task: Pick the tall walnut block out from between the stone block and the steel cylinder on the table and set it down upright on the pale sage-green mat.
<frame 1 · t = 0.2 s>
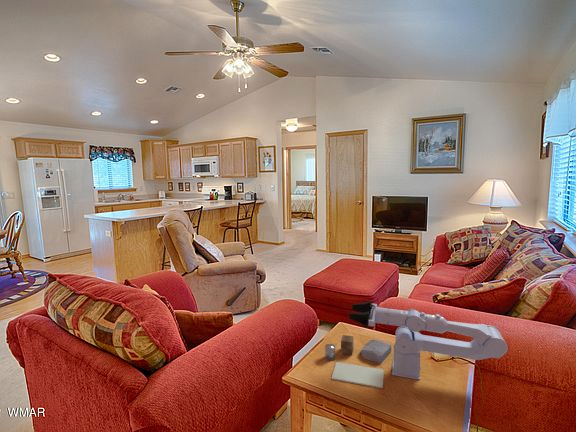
hand: (350, 311, 123), 21 cm above the table, tool horizontal, fingers open, 7 cm apart
walnut block: (347, 351, 134), on the table
sage mat: (357, 375, 119), on the table
steel cylinder: (330, 357, 130), on the table
stone block: (375, 354, 132), on the table
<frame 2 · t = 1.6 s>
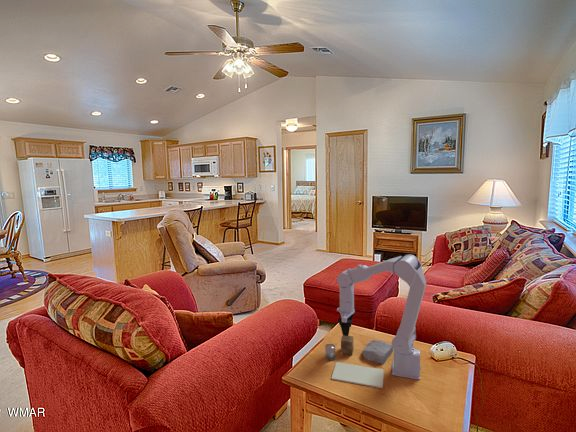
hand: (347, 330, 132), 9 cm above the table, tool pointing down, fingers open, 7 cm apart
nothing on the table moved.
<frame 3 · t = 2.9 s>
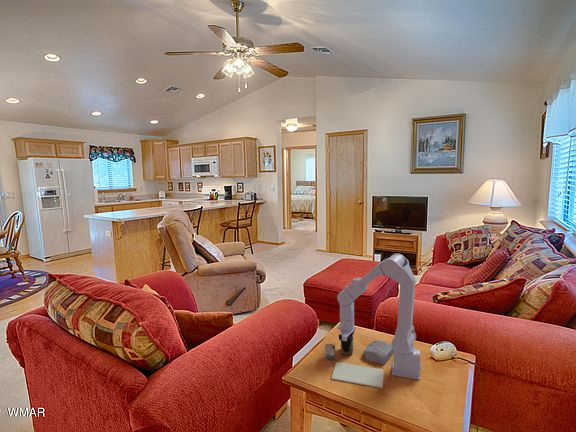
hand: (347, 348, 133), 2 cm above the table, tool pointing down, fingers closed on walnut block, 4 cm apart
walnut block: (347, 351, 134), on the table, touching gripper
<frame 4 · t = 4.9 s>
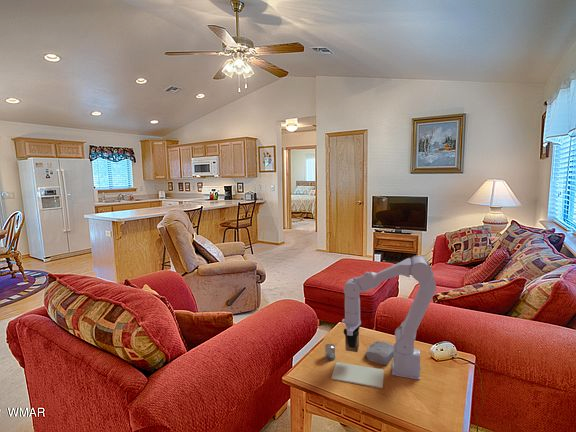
hand: (352, 343, 124), 9 cm above the table, tool pointing down, fingers closed on walnut block, 4 cm apart
walnut block: (352, 348, 124), point 7 cm above the table, touching gripper
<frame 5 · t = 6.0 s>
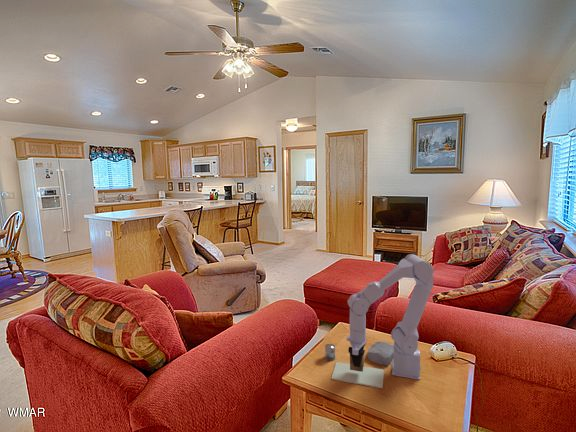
hand: (357, 362, 118), 5 cm above the table, tool pointing down, fingers closed on walnut block, 4 cm apart
walnut block: (357, 367, 118), point 3 cm above the table, touching gripper
when the fingers open (3 cm above the table, at t = 6.8 s): walnut block stays where it is, resting on sage mat.
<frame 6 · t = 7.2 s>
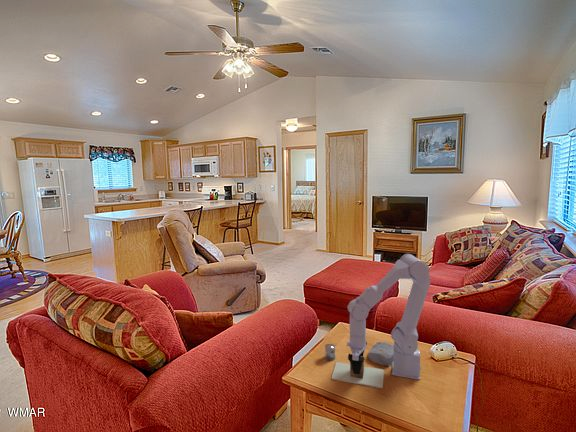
hand: (357, 367, 118), 3 cm above the table, tool pointing down, fingers open, 7 cm apart
walnut block: (357, 373, 119), resting on sage mat
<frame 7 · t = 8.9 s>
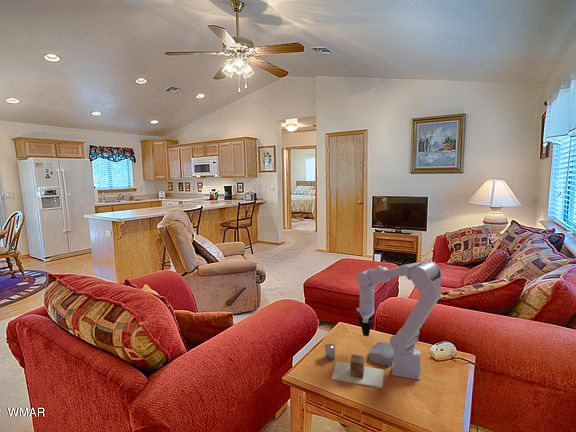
hand: (366, 330, 131), 9 cm above the table, tool pointing down, fingers open, 7 cm apart
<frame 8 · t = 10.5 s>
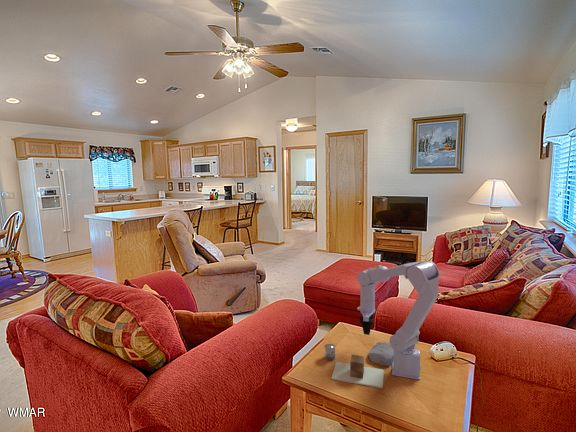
hand: (367, 329, 132), 9 cm above the table, tool pointing down, fingers open, 7 cm apart
at the end: walnut block inside the target area on the sage mat (0.2 cm from its centre), point 0.5 cm above the sage mat's base; walnut block tilted 0°; the gripper is holding nothing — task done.
